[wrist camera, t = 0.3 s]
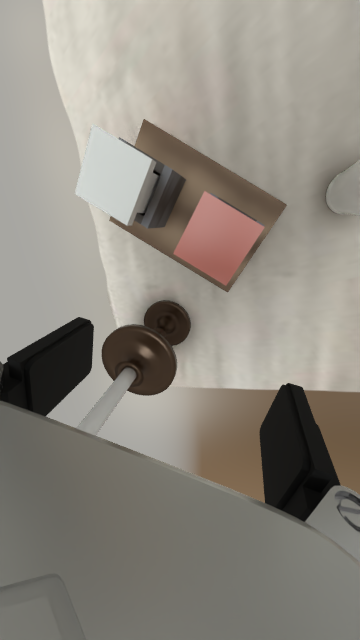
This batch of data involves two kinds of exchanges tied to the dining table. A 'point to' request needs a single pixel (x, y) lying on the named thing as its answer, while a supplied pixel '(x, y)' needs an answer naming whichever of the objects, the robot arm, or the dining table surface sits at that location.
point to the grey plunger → (116, 177)
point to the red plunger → (217, 238)
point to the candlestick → (140, 359)
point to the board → (192, 196)
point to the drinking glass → (345, 191)
